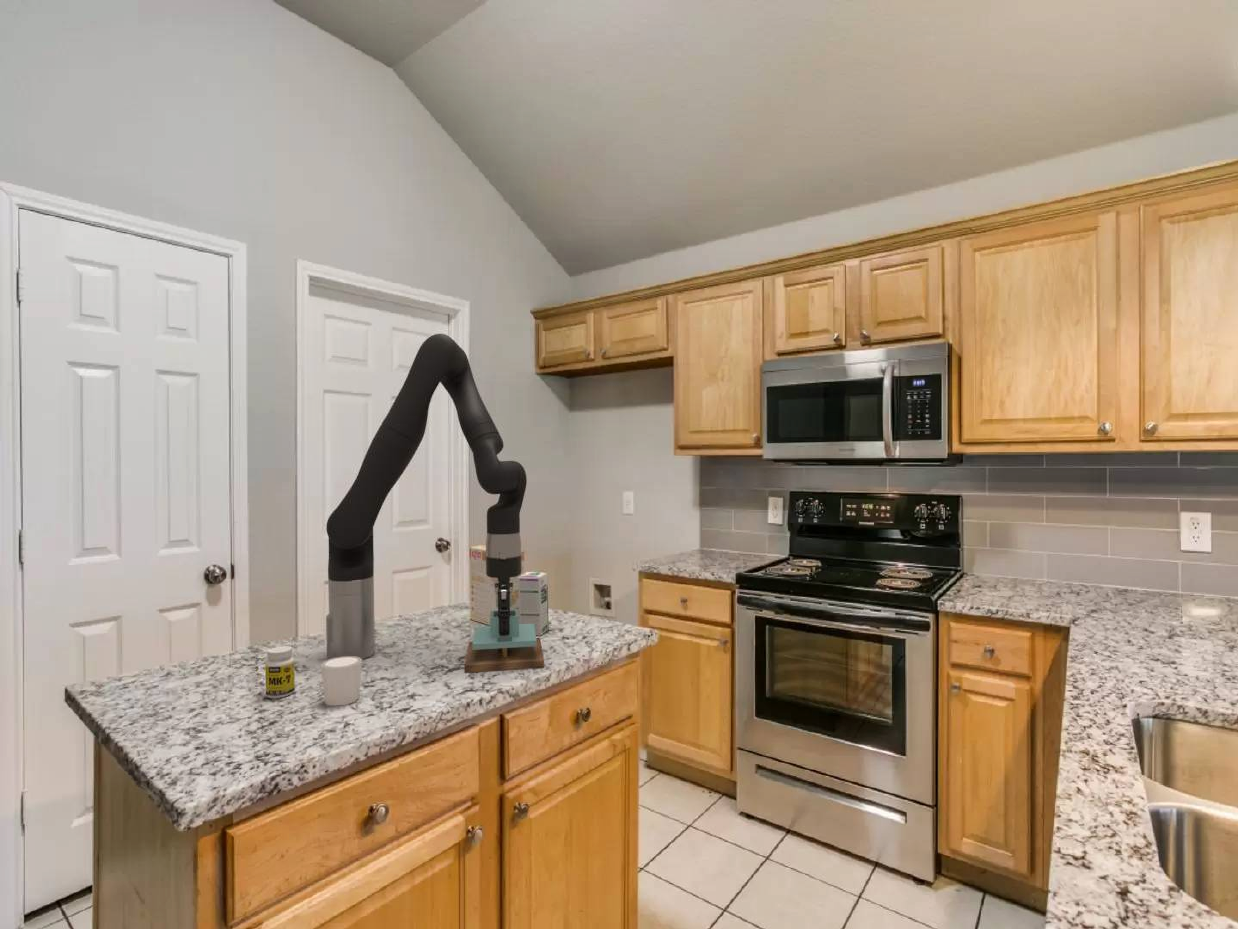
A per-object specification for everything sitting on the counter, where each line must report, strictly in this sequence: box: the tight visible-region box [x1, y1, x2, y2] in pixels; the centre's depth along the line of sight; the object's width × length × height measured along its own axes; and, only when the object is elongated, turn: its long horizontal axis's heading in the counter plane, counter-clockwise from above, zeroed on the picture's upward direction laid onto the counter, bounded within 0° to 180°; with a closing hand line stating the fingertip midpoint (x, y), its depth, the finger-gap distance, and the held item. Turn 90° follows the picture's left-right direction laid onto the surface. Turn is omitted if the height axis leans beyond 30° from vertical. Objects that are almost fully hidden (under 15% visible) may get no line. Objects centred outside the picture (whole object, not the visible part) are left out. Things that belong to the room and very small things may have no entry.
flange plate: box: [472, 609, 537, 650], centre depth 139 cm, size 13×13×6 cm
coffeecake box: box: [469, 544, 525, 626], centre depth 167 cm, size 15×7×20 cm, turn 46°
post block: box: [464, 637, 545, 674], centre depth 139 cm, size 16×16×8 cm
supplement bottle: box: [264, 645, 296, 699], centre depth 119 cm, size 5×5×8 cm
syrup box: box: [518, 571, 550, 637], centre depth 158 cm, size 6×6×14 cm
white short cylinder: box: [320, 656, 363, 706], centre depth 116 cm, size 7×7×7 cm
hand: (504, 630), depth 139 cm, fingers closed on flange plate, 6 cm apart
